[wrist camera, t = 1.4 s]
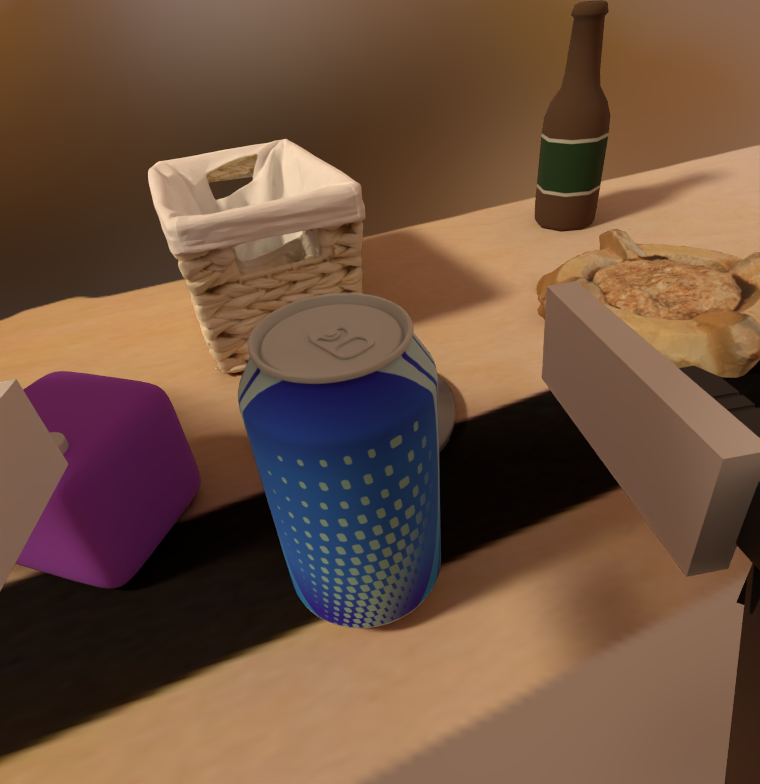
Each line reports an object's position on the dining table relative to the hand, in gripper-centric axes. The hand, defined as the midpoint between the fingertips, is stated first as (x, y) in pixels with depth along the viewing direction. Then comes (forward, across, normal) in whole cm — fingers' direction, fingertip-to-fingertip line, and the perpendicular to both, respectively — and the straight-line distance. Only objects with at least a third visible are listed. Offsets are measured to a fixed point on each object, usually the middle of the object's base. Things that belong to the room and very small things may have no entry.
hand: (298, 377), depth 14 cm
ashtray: (+32, +32, -19) cm, 49 cm away
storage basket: (+42, -6, -17) cm, 46 cm away
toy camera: (+15, -17, -18) cm, 29 cm away
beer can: (+8, 0, -19) cm, 20 cm away
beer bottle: (+57, +32, -18) cm, 68 cm away
